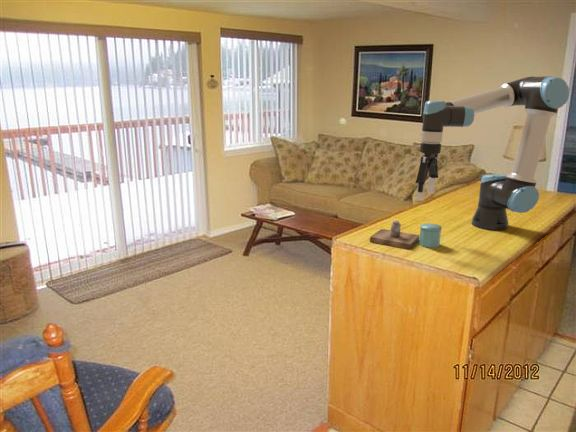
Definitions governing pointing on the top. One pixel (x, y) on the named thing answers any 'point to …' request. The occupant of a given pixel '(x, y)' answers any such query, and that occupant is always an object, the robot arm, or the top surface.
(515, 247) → the top surface
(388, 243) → the stud base
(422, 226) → the cap
